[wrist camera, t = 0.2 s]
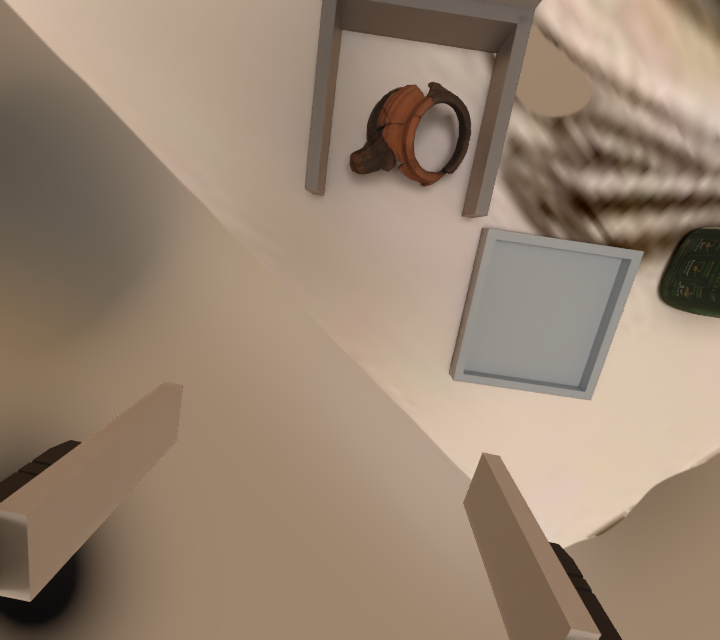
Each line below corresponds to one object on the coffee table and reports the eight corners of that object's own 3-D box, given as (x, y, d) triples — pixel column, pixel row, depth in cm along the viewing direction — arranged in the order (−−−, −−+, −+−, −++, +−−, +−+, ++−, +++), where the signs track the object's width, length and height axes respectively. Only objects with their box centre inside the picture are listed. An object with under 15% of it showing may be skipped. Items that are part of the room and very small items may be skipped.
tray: (482, 228, 38) (488, 228, 36) (628, 250, 38) (644, 251, 36) (449, 372, 43) (453, 380, 41) (579, 391, 43) (590, 400, 41)
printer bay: (338, -62, 32) (328, -156, 24) (527, -33, 32) (577, -117, 24) (313, 194, 38) (298, 184, 30) (472, 217, 38) (498, 214, 30)
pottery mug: (414, 67, 35) (468, 56, 28) (438, 156, 41) (487, 163, 34) (319, 128, 34) (352, 131, 27) (358, 210, 40) (392, 228, 33)
